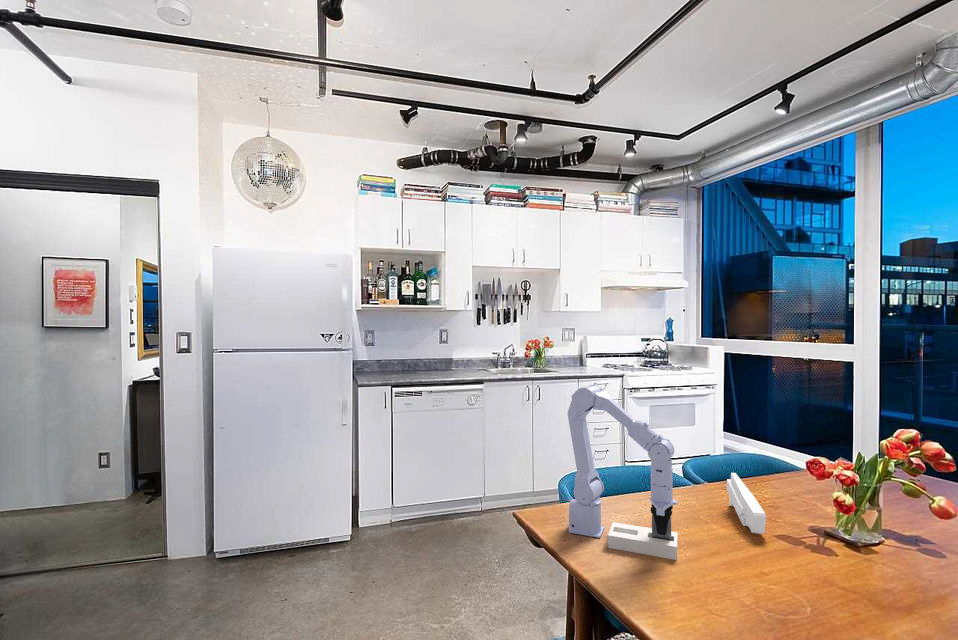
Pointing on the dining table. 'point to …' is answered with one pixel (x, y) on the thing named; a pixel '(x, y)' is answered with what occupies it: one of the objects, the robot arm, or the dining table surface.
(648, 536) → the white board with holes
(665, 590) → the dining table surface
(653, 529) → the gray rectangular block
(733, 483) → the shelf bracket
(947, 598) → the dining table surface
